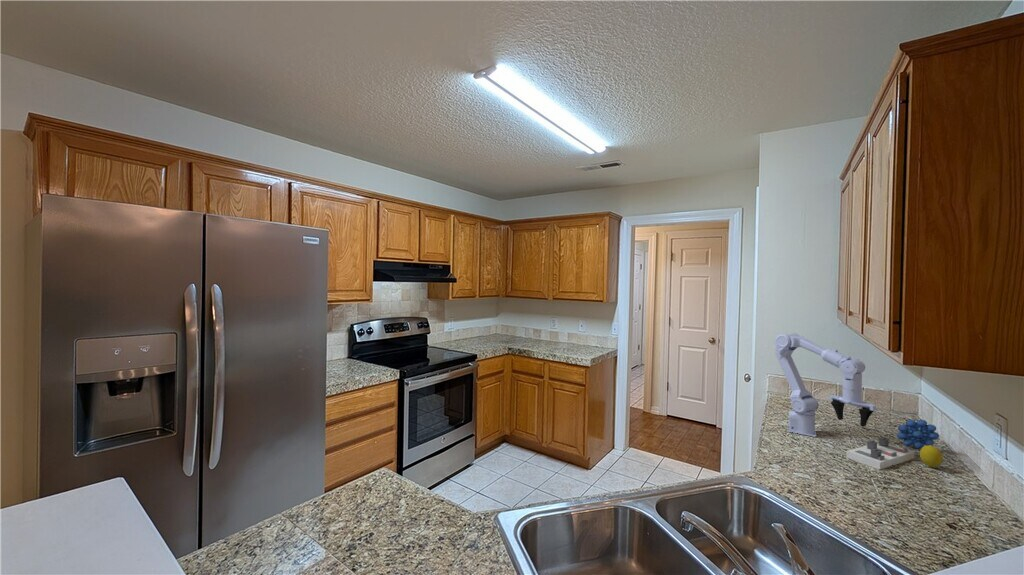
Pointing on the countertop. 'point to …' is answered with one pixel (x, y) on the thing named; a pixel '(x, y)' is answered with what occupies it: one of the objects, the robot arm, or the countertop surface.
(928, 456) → the lemon
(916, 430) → the grapes
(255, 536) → the countertop surface
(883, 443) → the switch far
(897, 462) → the switch panel
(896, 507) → the countertop surface
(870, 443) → the switch middle
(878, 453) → the switch near
